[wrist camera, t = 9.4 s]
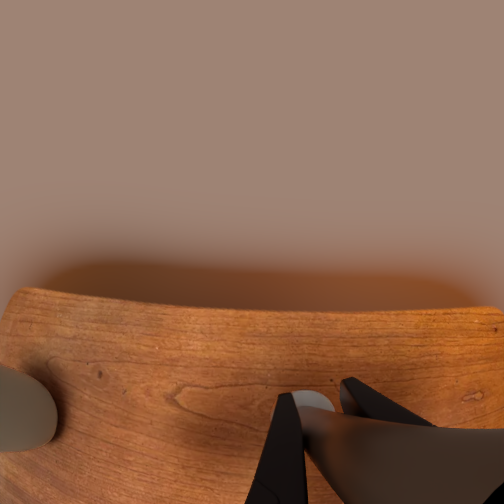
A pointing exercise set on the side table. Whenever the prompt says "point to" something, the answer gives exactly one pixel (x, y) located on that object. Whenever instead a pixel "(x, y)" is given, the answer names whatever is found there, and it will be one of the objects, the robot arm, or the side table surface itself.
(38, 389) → the cup
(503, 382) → the side table surface
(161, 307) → the side table surface
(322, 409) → the ladle
